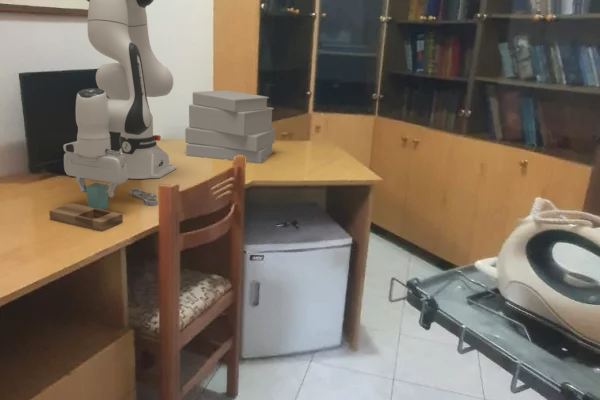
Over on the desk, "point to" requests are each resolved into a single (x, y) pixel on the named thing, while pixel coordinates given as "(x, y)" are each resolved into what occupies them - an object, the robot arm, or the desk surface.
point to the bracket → (144, 196)
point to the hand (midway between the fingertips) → (97, 194)
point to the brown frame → (86, 216)
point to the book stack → (229, 126)
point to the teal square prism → (97, 196)
